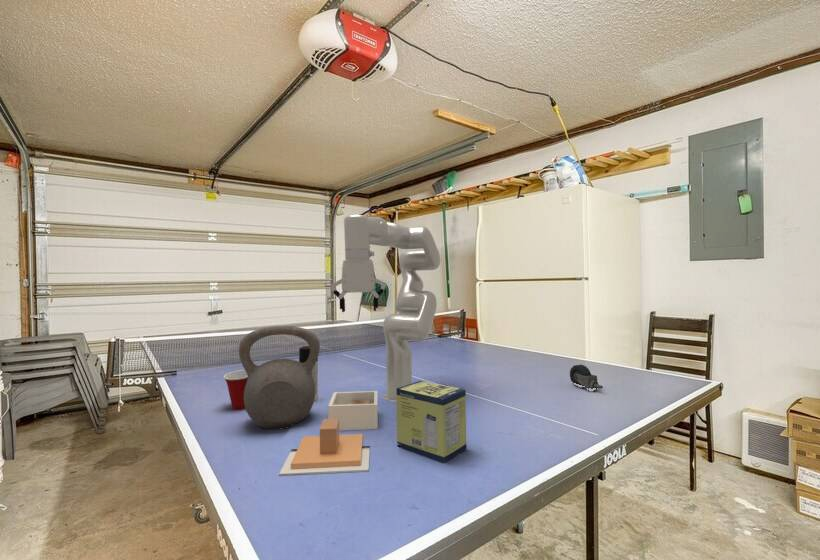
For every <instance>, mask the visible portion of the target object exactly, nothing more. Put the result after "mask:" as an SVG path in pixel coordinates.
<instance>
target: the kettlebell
mask: <svg viewBox="0 0 820 560" xmlns="http://www.w3.org/2000/svg"><path fill="white" fill-rule="evenodd" d="M280 335H283V336H284V335H286V336H295V337H298V338H300V339H302V340H304V341H305V342H306V343H307V344H308V346H309V347H310V354H309V357H308V359H307V361H306V362H304V363H300V362H299V360H295V359H291V358H276V359H275V358H274V359H272V360H268V361H266V362H263V363H261V364H260V365H257V364H255V362H254V361H253V360H252V358H251V354H250V353H251V347H252V346H253V345H254V344H255V343H256V342H258V341H259V340H261V339H264V338H267V337H270V336H271V337H272V336H280ZM238 347H239V348H238V353H239V355H238V356H239V359H240V362H241V366H242V367H243V368H244V369H243V370H245V371H246V373H247V375H248V379H247V383H246V386H245V391H244V404H245V408H244V409H245V411H246V413H247V415H248V417H249V418H250V419H251V421H252V422H253V423H255V424H257V425H258V426H259V427H262V428H264V429H266V428H268V429H267V430H281V429H280V428H283V429H286V427H288V428H291V427H292V426H293V425H295V424H298V423H300V422H302V421H303V420H305V418H306V417H307V416H308V414H309V413H310V412H311V410H312V408H313V405H314V402H315V401H314V398H315V383H314V379H313V376H312V370H313V367H314V365H315V363H316V361H317V358H318V359H319V354H320V350H321V349H320V347H321V345H320V340H319V338H318V336H317V335H316V333H314V332H313V331H311V330H309V329H307V328H304V327H300V326H291V325H275V326H265V327H263V328H259V329H255V330H253V331H251V332H249V333H247V334H246V335H244V336H243V338H242V339H241V341H240V343H239V346H238Z"/></svg>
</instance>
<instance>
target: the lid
mask: <svg viewBox="0 0 820 560" xmlns="http://www.w3.org/2000/svg"><path fill="white" fill-rule="evenodd" d="M320 425H321V426H320V427H319V435H304V436H303V437H302V438H301V441H300V443H299V445H298V447H297V448H296V449H297V451H296V454H295V456H294V458H293V460H292V462H291V469H303V468H322V467H342V466H361V455H362V446H363V438H364V434H363V433H354V434H353V433H351V434H340V430H339V419H328V418H326V419H325V418H324V419H323V420H322V422H321V424H320Z"/></svg>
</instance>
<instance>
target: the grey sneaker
mask: <svg viewBox="0 0 820 560" xmlns="http://www.w3.org/2000/svg"><path fill="white" fill-rule="evenodd" d="M569 378H570V381H571V383H572V382H573V383H576V384H579V385H582V386H585V389H586V388H588V389H589V388H591V389H593V388H596V389H597V388H598V389H600V390H601V389H603V388H604V387H603V385H601V384H599V382H598V376H597V375H595V374H592V373H591V371H590V369H589V368H588V367H587V366H586V365H583V364H575V365H573V366H572V367H571V368H570V370H569ZM573 383H572V384H573Z"/></svg>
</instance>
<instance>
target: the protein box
mask: <svg viewBox="0 0 820 560" xmlns="http://www.w3.org/2000/svg"><path fill="white" fill-rule="evenodd" d="M396 389H397V402H396V444H397V445H396V446H397V448H400V449H402V450H406V451H408V452H412V453H414V454H417V455H419V456H423V457H424V458H425V457H426V458H427V459H431V460H434V461H437V462H439V463H442V464H446V462H448V461H450V460H451V459H453V458H455V457H456V456H458V455H459V454H460V453H462V452H464V451H465V450H467V448H468V446H467V445H468V444H467V409H466V408H467V407H466V405H467V404H466V403H467V400H466V395H467V394H466V389H465V388H459V387H456V386H448V385H443V384H439V383H433V382H428V381H424V380H419V381H416V382H412V384H409V385H406V386H403V387H399V388H396Z"/></svg>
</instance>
